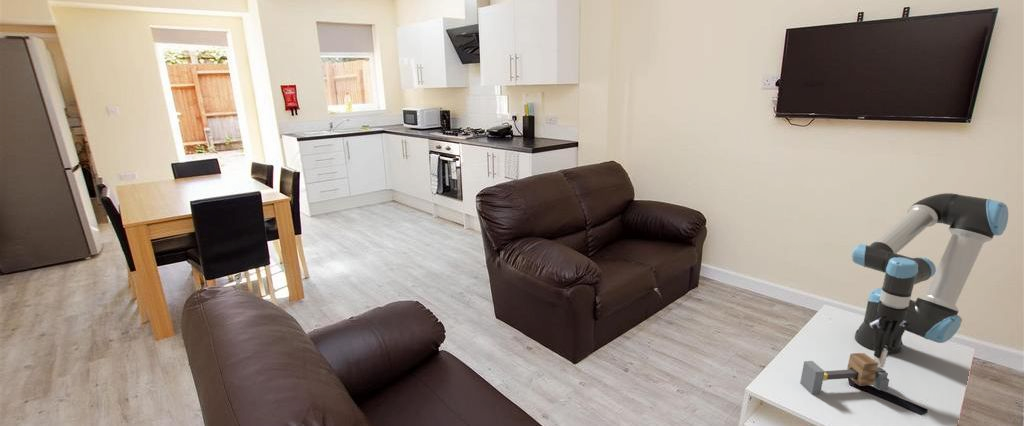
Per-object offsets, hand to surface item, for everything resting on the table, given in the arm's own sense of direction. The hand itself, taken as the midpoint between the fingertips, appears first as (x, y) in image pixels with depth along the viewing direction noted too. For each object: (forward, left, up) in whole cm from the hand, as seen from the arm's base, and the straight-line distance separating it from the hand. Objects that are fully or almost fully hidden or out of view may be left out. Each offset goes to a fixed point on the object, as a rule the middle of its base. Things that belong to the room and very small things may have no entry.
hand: (878, 364), depth 158 cm
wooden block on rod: (+6, 0, -6) cm, 8 cm away
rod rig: (+11, 0, -8) cm, 13 cm away
